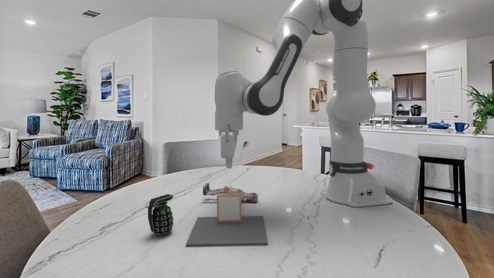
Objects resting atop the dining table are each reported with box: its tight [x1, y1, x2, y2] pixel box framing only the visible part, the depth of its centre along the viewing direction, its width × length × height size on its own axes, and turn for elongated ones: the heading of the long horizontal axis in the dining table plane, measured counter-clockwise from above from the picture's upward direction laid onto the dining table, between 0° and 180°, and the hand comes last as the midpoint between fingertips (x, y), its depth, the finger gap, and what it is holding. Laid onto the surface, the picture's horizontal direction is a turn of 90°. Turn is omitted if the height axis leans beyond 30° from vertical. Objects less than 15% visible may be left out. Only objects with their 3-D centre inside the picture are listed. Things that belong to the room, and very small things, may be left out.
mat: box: [185, 215, 269, 248], centre depth 69 cm, size 20×16×1 cm
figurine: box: [202, 182, 259, 204], centre depth 92 cm, size 6×6×20 cm
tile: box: [216, 193, 243, 222], centre depth 74 cm, size 7×3×8 cm, turn 91°
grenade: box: [145, 193, 174, 237], centre depth 67 cm, size 7×6×10 cm
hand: (229, 167), depth 80 cm, fingers closed
